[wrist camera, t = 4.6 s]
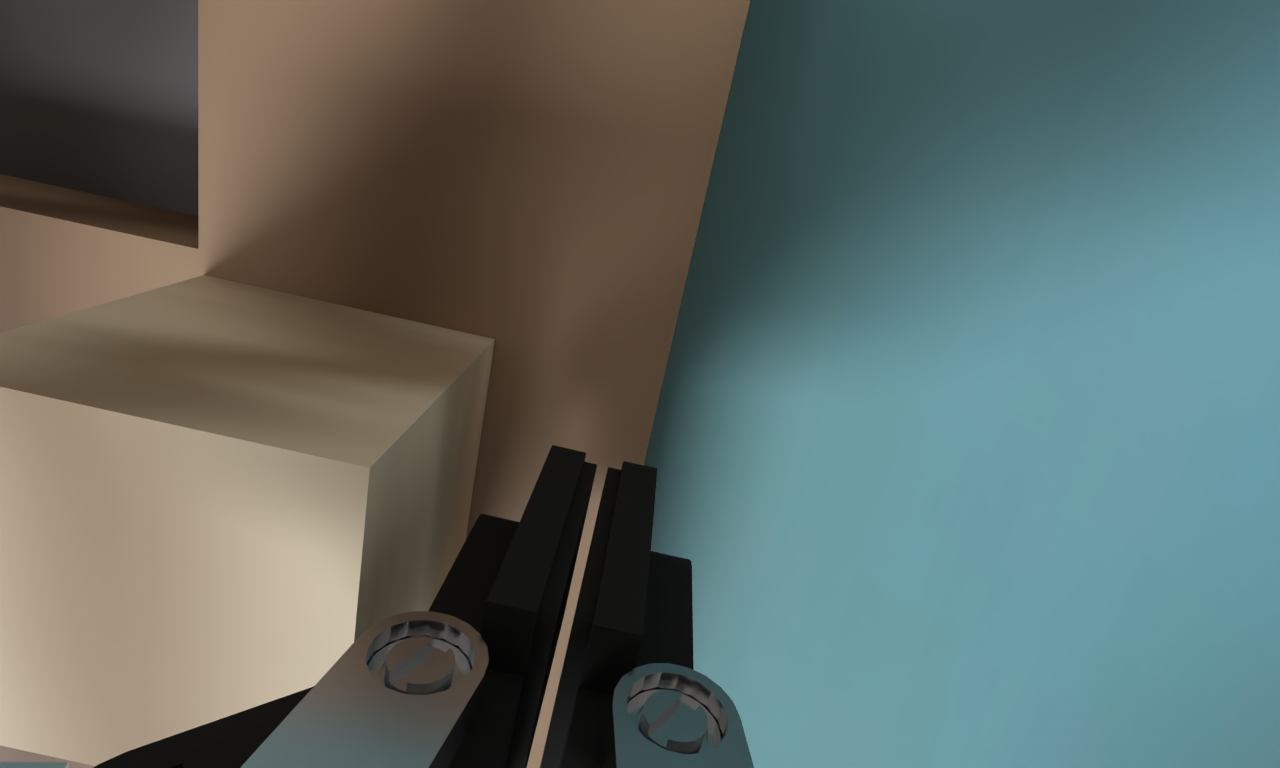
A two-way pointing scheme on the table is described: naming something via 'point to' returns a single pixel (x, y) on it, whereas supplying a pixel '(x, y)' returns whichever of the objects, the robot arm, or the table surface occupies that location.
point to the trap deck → (386, 188)
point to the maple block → (217, 503)
